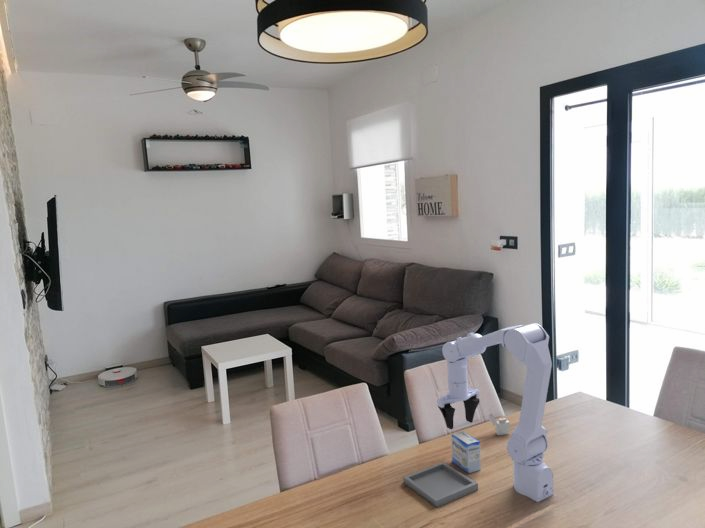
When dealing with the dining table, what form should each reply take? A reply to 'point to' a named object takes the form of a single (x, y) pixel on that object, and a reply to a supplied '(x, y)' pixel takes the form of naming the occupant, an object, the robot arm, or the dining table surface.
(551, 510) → the dining table surface
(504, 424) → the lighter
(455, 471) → the tray
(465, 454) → the medicine box
